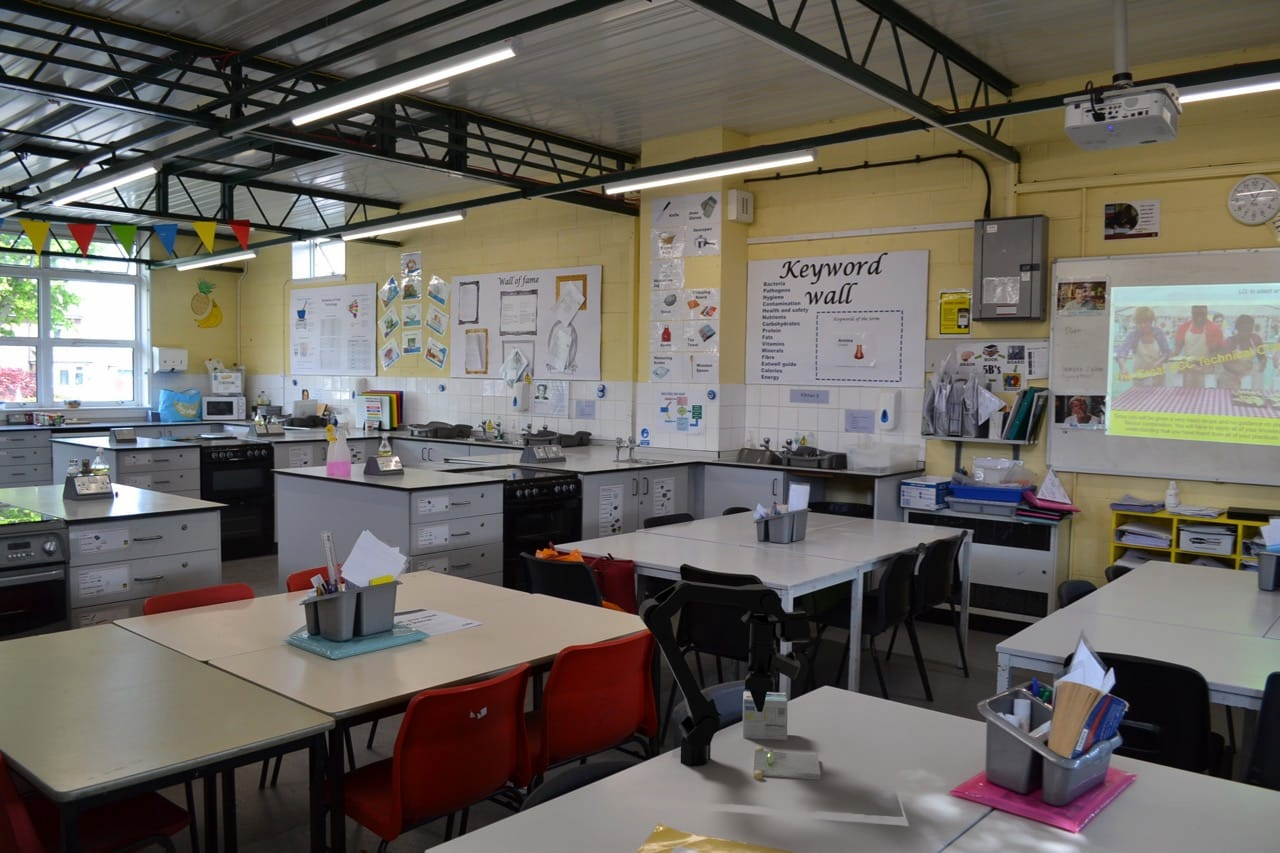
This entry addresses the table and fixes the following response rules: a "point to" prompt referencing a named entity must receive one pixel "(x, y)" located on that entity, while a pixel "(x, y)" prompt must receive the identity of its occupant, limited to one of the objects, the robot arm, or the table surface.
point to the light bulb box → (765, 717)
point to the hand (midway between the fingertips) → (759, 711)
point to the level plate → (787, 764)
